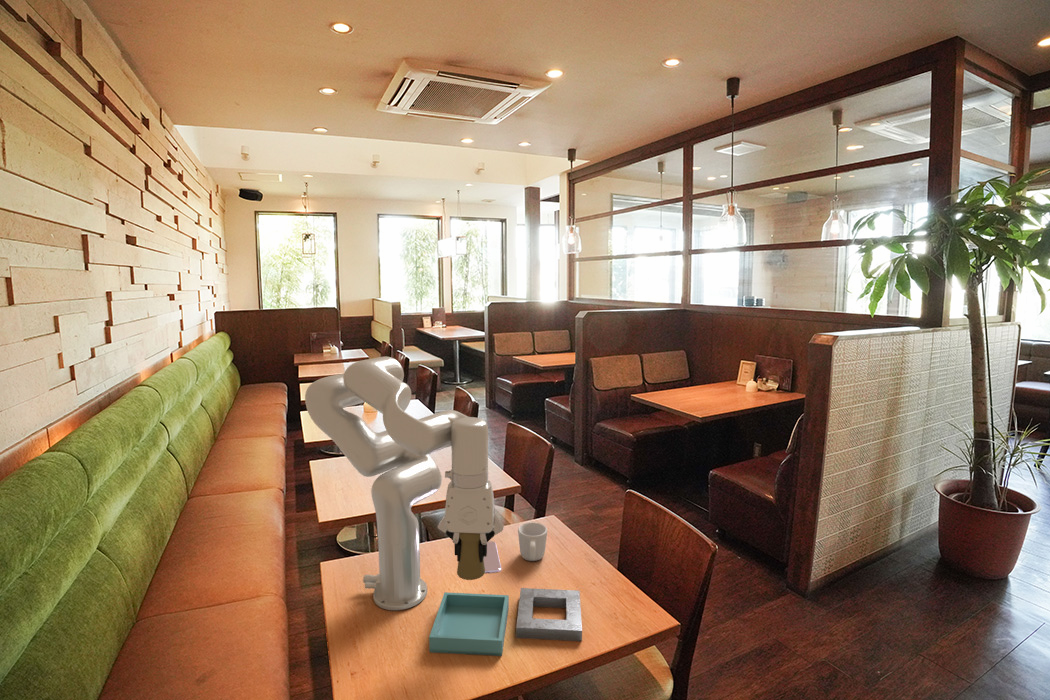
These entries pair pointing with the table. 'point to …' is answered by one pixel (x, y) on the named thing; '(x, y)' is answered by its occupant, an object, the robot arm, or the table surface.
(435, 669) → the table surface
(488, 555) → the mobile phone
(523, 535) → the cup
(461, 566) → the olive brown peg figure
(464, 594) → the parts tray
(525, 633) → the socket block
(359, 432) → the robot arm
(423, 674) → the table surface
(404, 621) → the table surface
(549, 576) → the table surface
